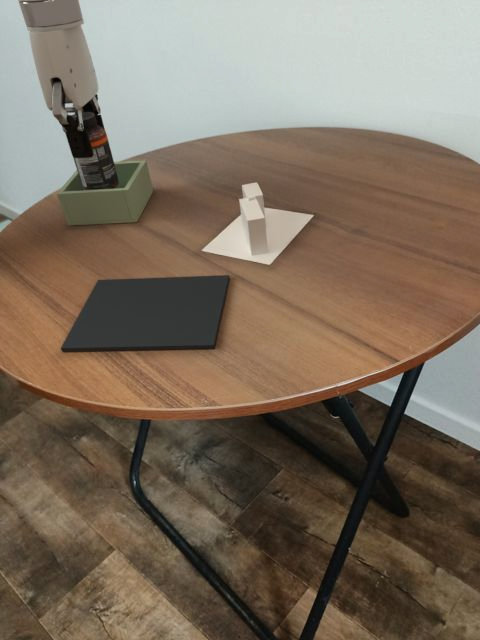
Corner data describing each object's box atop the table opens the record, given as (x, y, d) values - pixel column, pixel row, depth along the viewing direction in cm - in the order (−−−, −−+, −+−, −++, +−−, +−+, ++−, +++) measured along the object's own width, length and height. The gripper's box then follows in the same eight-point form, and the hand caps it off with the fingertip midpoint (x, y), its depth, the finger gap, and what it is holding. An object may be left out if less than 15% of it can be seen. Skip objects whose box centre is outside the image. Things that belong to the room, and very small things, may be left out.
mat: (62, 352, 60) (60, 348, 60) (99, 283, 71) (97, 279, 70) (214, 348, 58) (213, 344, 58) (229, 278, 69) (229, 274, 68)
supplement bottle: (93, 180, 88) (73, 109, 81) (125, 180, 87) (108, 109, 80) (76, 194, 84) (53, 121, 77) (110, 195, 83) (90, 121, 76)
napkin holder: (271, 265, 70) (267, 226, 66) (200, 251, 75) (193, 214, 71) (314, 214, 80) (313, 178, 76) (249, 205, 84) (245, 170, 80)
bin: (68, 225, 85) (56, 193, 81) (91, 194, 93) (81, 164, 90) (137, 222, 83) (128, 189, 80) (153, 190, 92) (146, 160, 88)
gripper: (50, 5, 77) (86, 131, 88) (-4, 28, 64) (46, 171, 76) (99, 2, 76) (128, 129, 88) (55, 23, 63) (96, 169, 75)
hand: (90, 147), depth 82 cm, fingers closed on supplement bottle, 6 cm apart
